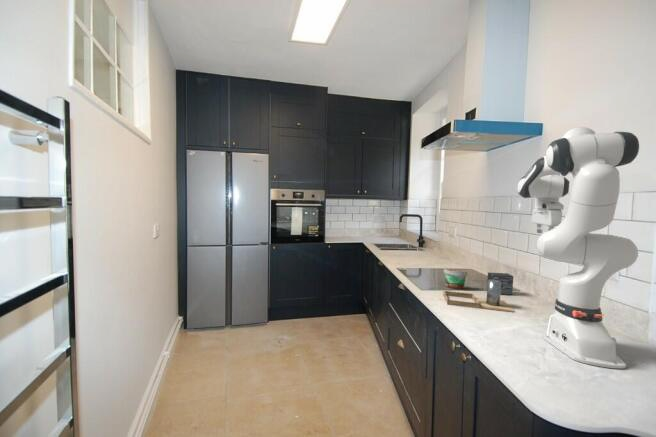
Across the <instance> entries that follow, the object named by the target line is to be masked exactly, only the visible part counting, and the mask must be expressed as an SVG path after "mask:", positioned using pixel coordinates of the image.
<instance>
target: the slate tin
mask: <svg viewBox="0 0 656 437" xmlns="http://www.w3.org/2000/svg"><path fill="white" fill-rule="evenodd" d="M500 294H501V282H500V281H497V280H488V285H487V284H486V298H485V299H486V304H488V305H491V306H500V300H501V295H500Z"/></svg>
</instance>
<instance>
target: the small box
mask: <svg viewBox="0 0 656 437" xmlns="http://www.w3.org/2000/svg"><path fill="white" fill-rule="evenodd" d="M486 280H487V281H486V282H487V283H486V286H487V285H488V280H497V281H500V282H501V294H500V296H513V287H514V275H512V274H509V273H507V272H504V273H503V272H487V279H486Z"/></svg>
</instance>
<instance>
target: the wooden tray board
mask: <svg viewBox="0 0 656 437" xmlns="http://www.w3.org/2000/svg"><path fill="white" fill-rule="evenodd" d="M442 296H443V297H444V300H445V303H446V305H447V306H448V305H449V306H457V307H466V308H474V309H481V310H491V311H498V312H499V311H500V312H505V313H506V312H507V313H514V312H515V313H516V311H515V310H514V309H513V308H512V307H511V306H510V305H509V304H508V303H507V302H506V301H505V300H501V299H500V306H491V305H488V304H486V298H483V297H476V296H475V294H474V293H468V292H458V291H449V290H443V292H442ZM448 297H457V298H465V299H472V301H473V302H472V301H471V302H470V301H463V300H462V301H461V300H455V299H449V298H448Z"/></svg>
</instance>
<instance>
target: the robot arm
mask: <svg viewBox="0 0 656 437" xmlns="http://www.w3.org/2000/svg"><path fill="white" fill-rule="evenodd" d="M639 152H640V141H639V138H638V136H636V135H635V134H634V133H633V132H628V131H615V132H605V133H604V132H602V133H596V132H595V131H594V130H593V129H592V128H589V127H585V126H579V127H574V128H571V129H570V130H568V131H566V133H564V134H563V135H562V136H561V137H560V138H559V139H555V140H552V141H551V143H549V145H548V147H547V149H546V153H545V155H544V156H542V157H540V158H538V159H537V160H536V161H535V162H534V164H532V166H531V167H530V168H529V170H528V171H527V172H526V173H525V175H523V176H522V177H521V178H520V179H519V181H518V182H517V183H518V184H517V187H516V188H517V194H518V195H519V196H520V197H522V198H523V199H530V198H534V199H535V200H534V208H533V210H532V213H531V220H530V221H531V223H532V224H535V228H536V230H535V231H536V232H535V233H537V234H540V235H539V237H538V239H537V241H536V250H537V253H538V254H539V255H540V256H541V257H542V258H544V259H547V260H551V261H554V262H559V263H567V264H575V265H581V266H583V268H582V269H581V270H579V271H576V272H571V273H568V274H565V275H563V276H562V277H560V279H559V280H558V289H557V298H556V299H555V301H554V312H553V313H552V314H551V315H550V316H549V320H548V323H547V324H548V325H547V331H546V333H543V334H542V337H541V338H542V339H544V340H545V341H546V342H548V343H549V344H550V345H552V346H553V347H555V348H557V349H558V350H559V351H560V352H562V354H564V355H566V356H567V357H569V358H570V359H572V360H574V361H576V362H579V363H583V364H587V365H590V366H595V367H601V368H608V369H609V368H611V369H626V368H627V364H626V362H624V361H623V360H622V358H620V356H618V354H617V349H616V348H617V347H616V345H617V344H618V343H617V339H616V337H614V336H611V334H610V333H609V331H608V329H607V328H606V326H605V324H604V323H603V319H604V318H603V317H604V316H605V315H604V314H603V312H602V308H601V306H600V305H601V304H600V303H601V299H602V293H603V289H604V287H605V285H606V283H607V281H608V280H609V279H610V278H611V277H612V276H613V275H615V274H616V273H618V272H620V271H622V270H624V269H627V268H629V267H631V266H632V265H634V264H635V262H637V259H638V257H639V249H638V247H637V245H636V243H635V242H634V241H632V240H631V239H630V238H627V237H622V236H618V235H613V234H605V233H593V232H596V231H599V230H602V229H605V228H606V227H608V226H609V225H610V224H611V223H612V222H613V220H614V217H615V214H616V213H615V212H616V208H617V206H618V205H617V204H618V201H619V194H620V186H621V185H620V184H621V183H620V182H621V181H620V179H621V176H620V171H619V169H618V168H617V167H622V166H625V165H628V164H632V163H633V161H634V160H635V159H636V158H637V156H638V154H639ZM569 174H571V175H572V178H573V182H572V187H571V191H570V180H569V179H568V178H566V177H567V175H569ZM569 192H570V194H569ZM567 194H569V202H568V207H567V210H566V214H565V217H564V218H563V210H564V207H565V206H564V204H563V203H561V202H560V198H563V197H565V196H567ZM562 218H563V219H562ZM542 226H546V227H547V229H546V231H545V232H543V229H542ZM542 232H543V233H542Z"/></svg>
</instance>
